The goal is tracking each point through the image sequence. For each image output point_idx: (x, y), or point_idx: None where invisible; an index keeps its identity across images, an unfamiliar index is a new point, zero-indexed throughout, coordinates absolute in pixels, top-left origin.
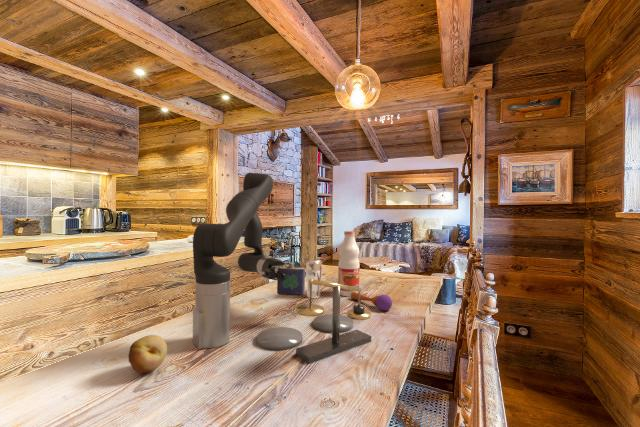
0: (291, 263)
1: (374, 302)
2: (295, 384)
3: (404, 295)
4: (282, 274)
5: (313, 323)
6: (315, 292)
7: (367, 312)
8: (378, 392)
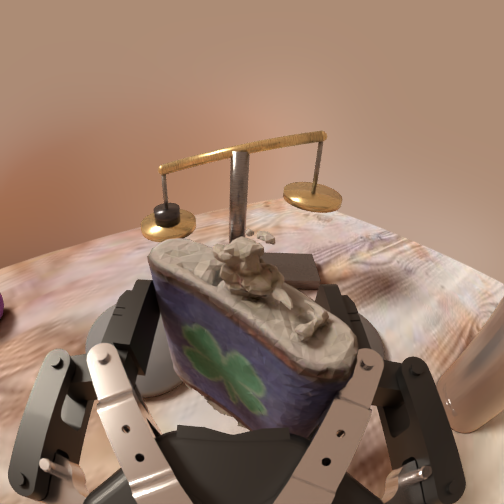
0: (260, 232)
1: None
2: (345, 244)
3: None
4: (337, 294)
5: None
6: None
7: (153, 216)
8: (268, 207)
